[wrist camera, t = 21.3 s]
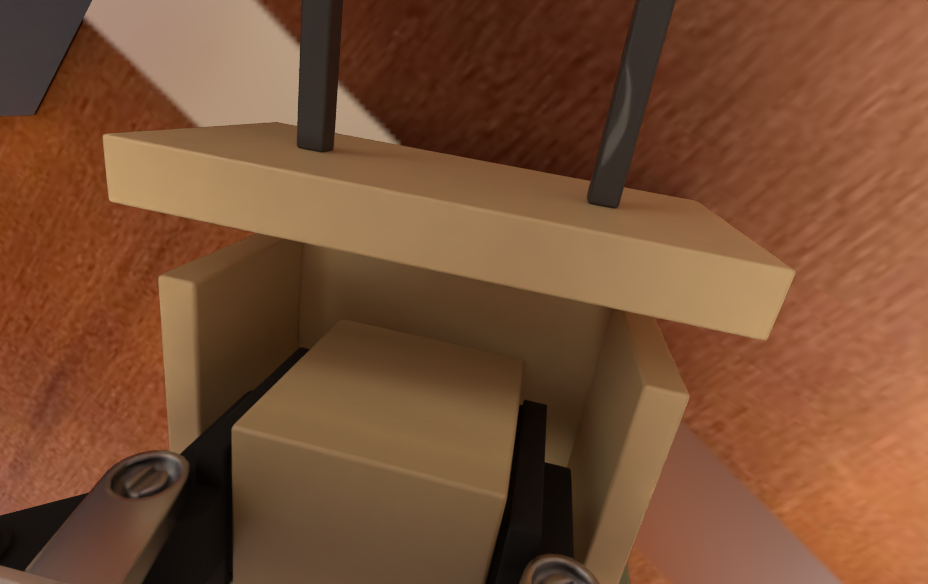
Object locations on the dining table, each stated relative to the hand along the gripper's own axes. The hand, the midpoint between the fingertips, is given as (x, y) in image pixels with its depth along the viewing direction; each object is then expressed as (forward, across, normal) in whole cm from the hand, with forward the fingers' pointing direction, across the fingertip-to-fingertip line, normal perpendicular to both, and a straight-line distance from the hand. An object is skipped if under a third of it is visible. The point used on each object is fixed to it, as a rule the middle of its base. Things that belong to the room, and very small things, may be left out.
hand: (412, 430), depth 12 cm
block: (+1, 0, 0) cm, 1 cm away
